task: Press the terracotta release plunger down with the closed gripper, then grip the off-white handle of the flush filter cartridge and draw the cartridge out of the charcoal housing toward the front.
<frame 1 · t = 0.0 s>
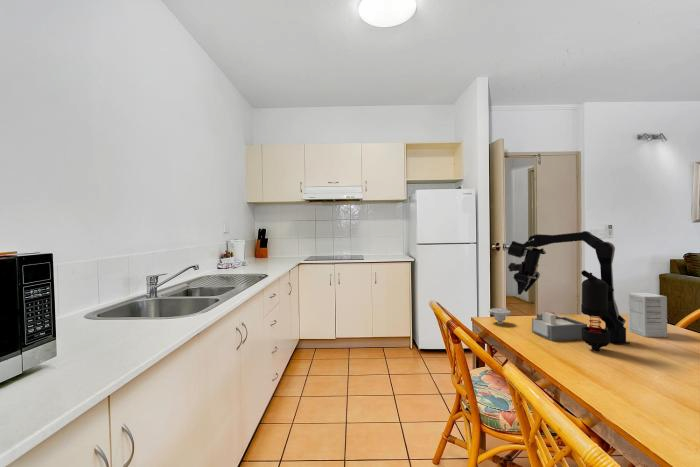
hand: (522, 292, 161), 15 cm above the table, tool pointing down, fingers open, 9 cm apart
filter: (598, 350, 130), on the table
supplement box: (647, 334, 148), on the table
cartridge: (554, 322, 147), point 5 cm above the table, slide at 0.0 cm
plunger: (549, 317, 156), point 6 cm above the table, slide at 0.0 cm
showerhead: (500, 324, 166), on the table
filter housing: (558, 335, 147), on the table
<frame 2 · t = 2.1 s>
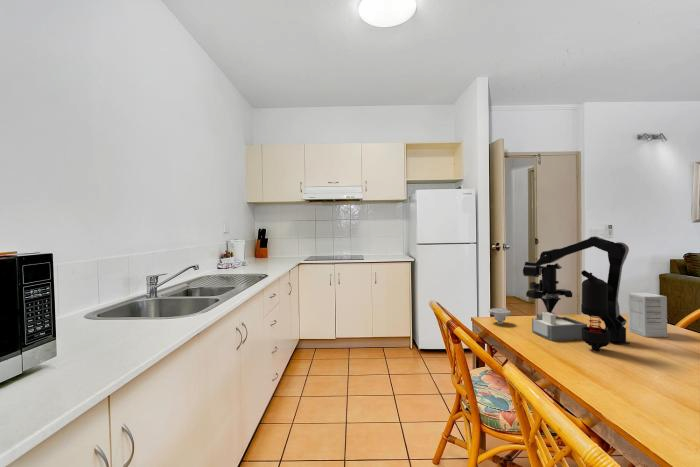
hand: (549, 312, 156), 7 cm above the table, tool pointing down, fingers closed, pressing on plunger
plunger: (549, 317, 156), point 5 cm above the table, slide at 0.2 cm, touching gripper
everything else where it was.
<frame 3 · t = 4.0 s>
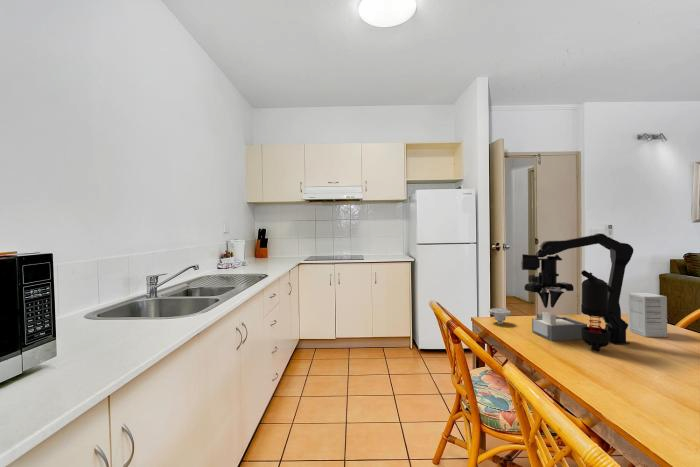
hand: (548, 307, 147), 12 cm above the table, tool pointing down, fingers open, 3 cm apart
plunger: (549, 320, 156), point 4 cm above the table, slide at 1.8 cm
everything else where it was.
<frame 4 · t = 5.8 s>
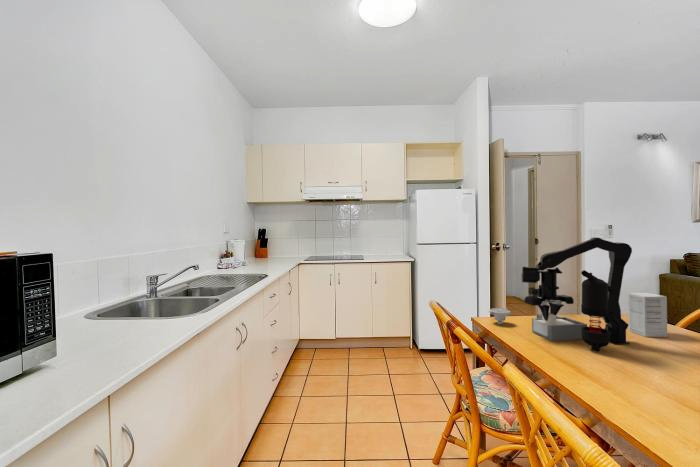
hand: (549, 320, 146), 7 cm above the table, tool pointing down, fingers closed on cartridge, 2 cm apart
cartridge: (554, 322, 147), point 5 cm above the table, slide at 0.0 cm, touching gripper
everything else where it was.
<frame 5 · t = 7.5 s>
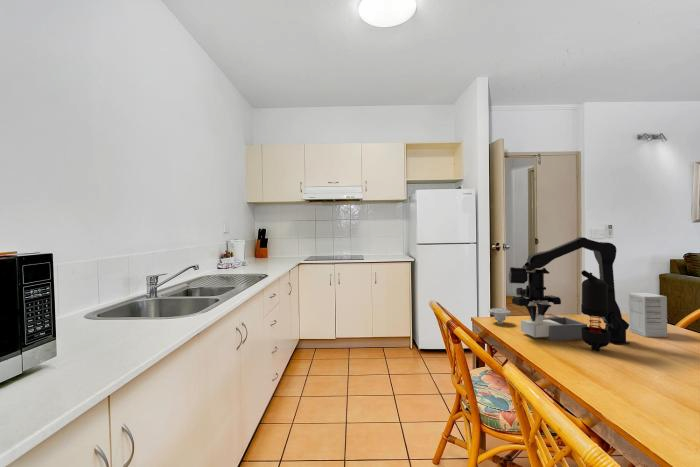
hand: (536, 320, 146), 7 cm above the table, tool pointing down, fingers closed on cartridge, 2 cm apart
cartridge: (541, 323, 146), point 5 cm above the table, slide at 5.7 cm, touching gripper
everything else where it was.
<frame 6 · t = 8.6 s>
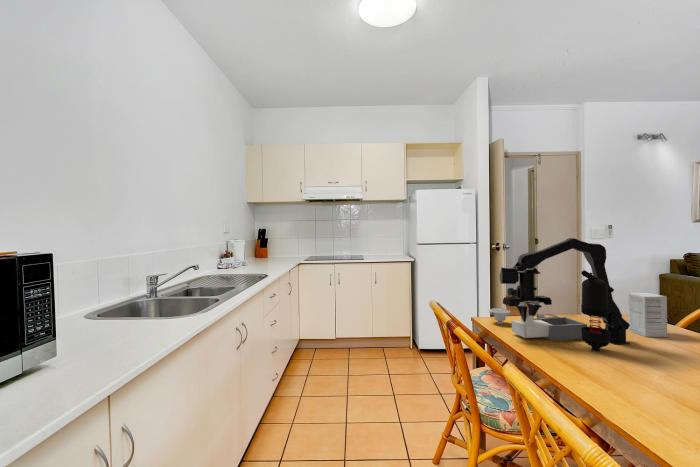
hand: (527, 321, 145), 7 cm above the table, tool pointing down, fingers closed on cartridge, 2 cm apart
cartridge: (532, 324, 146), point 5 cm above the table, slide at 9.9 cm, touching gripper
everything else where it was.
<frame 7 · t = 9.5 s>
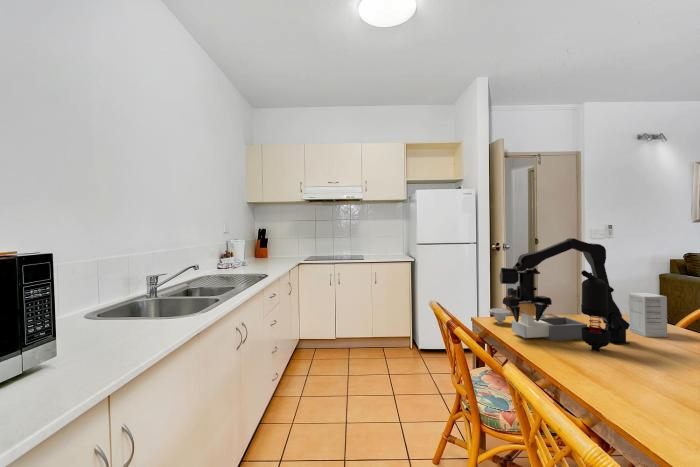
hand: (527, 321, 145), 7 cm above the table, tool pointing down, fingers open, 9 cm apart
cartridge: (532, 324, 146), point 5 cm above the table, slide at 9.9 cm
everything else where it was.
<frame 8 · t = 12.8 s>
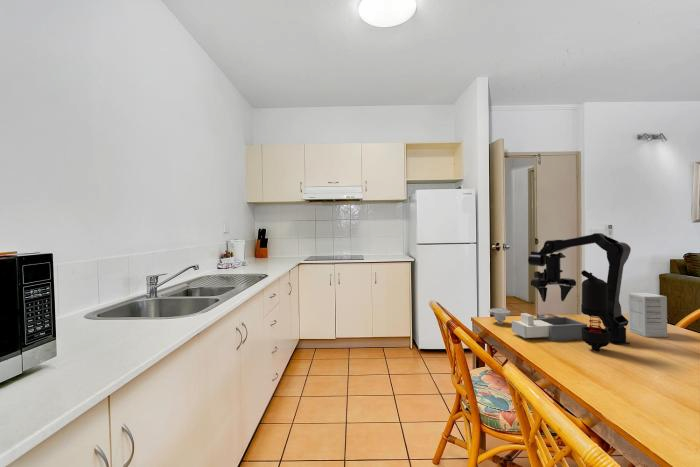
hand: (553, 301, 159), 12 cm above the table, tool pointing down, fingers open, 9 cm apart
nothing on the table moved.
at the end: plunger slide at 1.8 cm; cartridge slide at 9.9 cm; the gripper is holding nothing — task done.
